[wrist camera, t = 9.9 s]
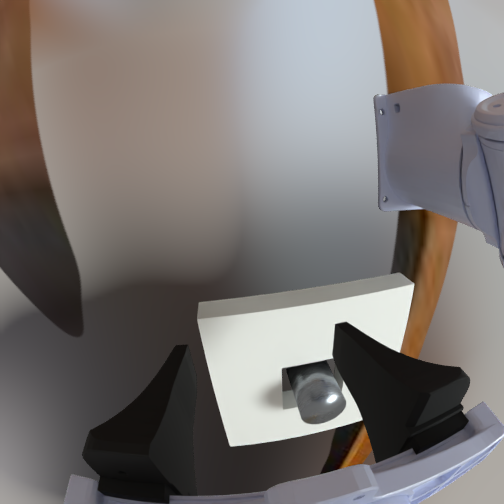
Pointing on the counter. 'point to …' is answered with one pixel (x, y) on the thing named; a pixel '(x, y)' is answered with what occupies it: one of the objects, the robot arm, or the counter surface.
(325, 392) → the pin
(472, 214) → the robot arm
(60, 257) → the counter surface
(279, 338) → the socket block
